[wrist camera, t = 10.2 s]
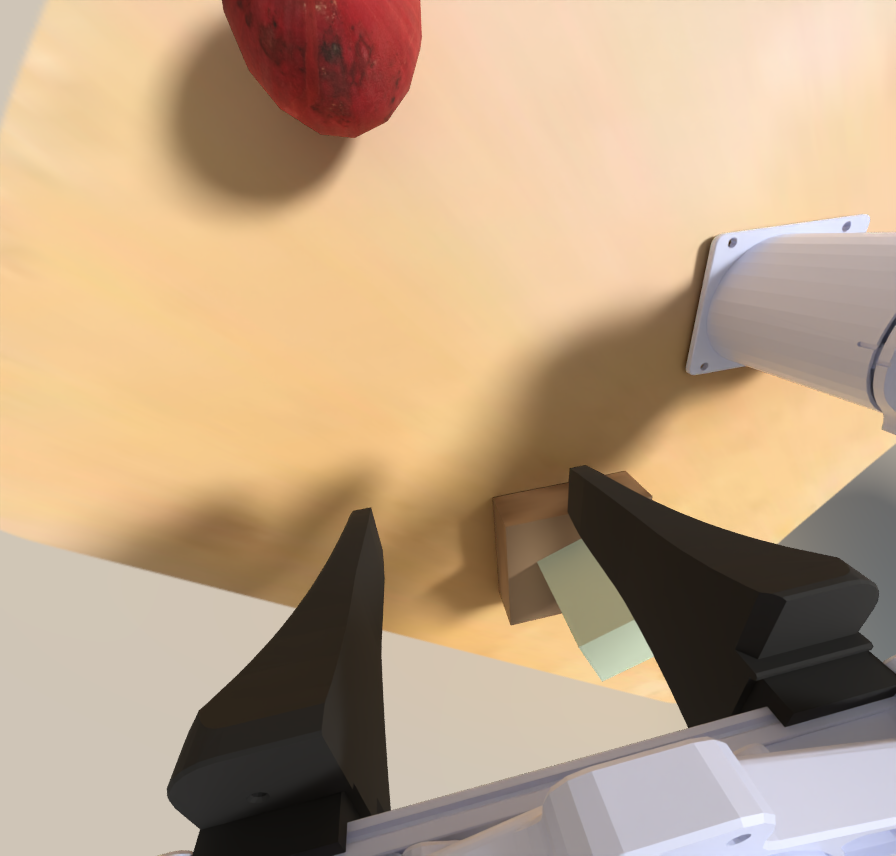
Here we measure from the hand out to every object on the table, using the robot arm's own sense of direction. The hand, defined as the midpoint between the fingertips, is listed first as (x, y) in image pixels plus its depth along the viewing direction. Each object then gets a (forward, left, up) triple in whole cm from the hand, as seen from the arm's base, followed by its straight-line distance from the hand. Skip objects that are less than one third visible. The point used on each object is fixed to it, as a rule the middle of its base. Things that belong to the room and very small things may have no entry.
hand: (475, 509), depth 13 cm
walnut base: (-8, +13, -10) cm, 18 cm away
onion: (+2, -15, -10) cm, 18 cm away
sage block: (-8, +13, -7) cm, 17 cm away
